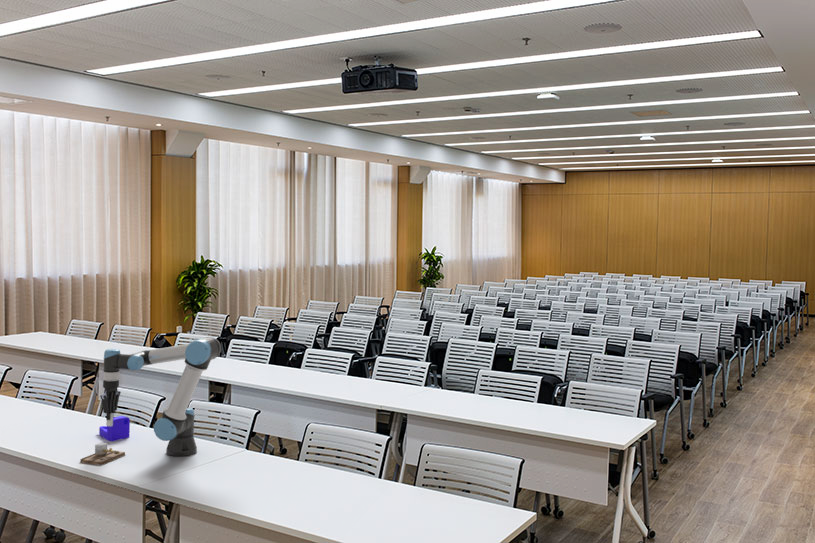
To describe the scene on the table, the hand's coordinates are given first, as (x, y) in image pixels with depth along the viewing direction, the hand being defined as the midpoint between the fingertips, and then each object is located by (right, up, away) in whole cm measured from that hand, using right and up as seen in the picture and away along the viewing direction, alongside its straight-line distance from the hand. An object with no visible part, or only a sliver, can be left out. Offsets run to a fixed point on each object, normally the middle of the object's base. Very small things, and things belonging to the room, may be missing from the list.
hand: (109, 425), depth 365 cm
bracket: (-13, -14, +33) cm, 38 cm away
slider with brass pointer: (+1, -13, -7) cm, 15 cm away
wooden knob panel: (0, -15, -7) cm, 17 cm away
